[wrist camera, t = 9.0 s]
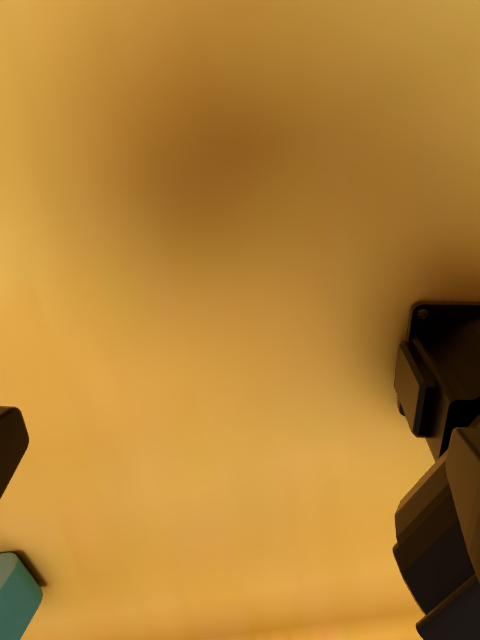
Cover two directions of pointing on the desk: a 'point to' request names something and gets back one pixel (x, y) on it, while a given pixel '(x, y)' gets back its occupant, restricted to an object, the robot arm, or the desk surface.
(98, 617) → the desk surface
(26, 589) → the teal square slab
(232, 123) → the desk surface
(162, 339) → the desk surface
